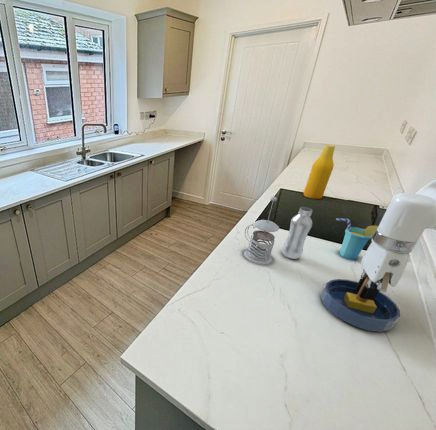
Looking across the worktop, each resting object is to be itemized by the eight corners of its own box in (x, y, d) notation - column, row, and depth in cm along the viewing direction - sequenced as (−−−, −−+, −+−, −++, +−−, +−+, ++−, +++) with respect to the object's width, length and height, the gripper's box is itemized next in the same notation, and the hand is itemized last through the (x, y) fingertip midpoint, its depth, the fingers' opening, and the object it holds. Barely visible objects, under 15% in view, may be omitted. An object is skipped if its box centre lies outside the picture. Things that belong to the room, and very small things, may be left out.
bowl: (379, 299, 80) (386, 288, 78) (403, 341, 67) (412, 329, 65) (315, 284, 86) (320, 273, 84) (326, 320, 73) (332, 309, 71)
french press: (263, 267, 95) (281, 205, 83) (234, 252, 103) (247, 194, 92) (277, 258, 99) (296, 198, 88) (248, 244, 108) (263, 188, 97)
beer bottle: (323, 195, 152) (342, 145, 138) (320, 200, 146) (339, 148, 132) (304, 192, 157) (321, 143, 144) (301, 196, 151) (317, 146, 138)
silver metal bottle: (290, 262, 97) (307, 214, 88) (276, 252, 103) (290, 206, 94) (304, 259, 98) (322, 212, 89) (289, 249, 104) (305, 204, 95)
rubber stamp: (368, 304, 78) (383, 277, 73) (373, 313, 74) (389, 286, 70) (343, 298, 80) (356, 272, 76) (347, 307, 77) (360, 280, 72)
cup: (324, 255, 100) (338, 221, 94) (321, 245, 106) (334, 212, 100) (371, 265, 94) (390, 229, 88) (365, 254, 101) (382, 220, 94)
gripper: (430, 261, 59) (393, 319, 67) (398, 229, 72) (370, 281, 80) (387, 254, 62) (356, 310, 70) (363, 224, 75) (340, 274, 83)
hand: (364, 294), depth 75 cm, fingers closed on rubber stamp, 2 cm apart
